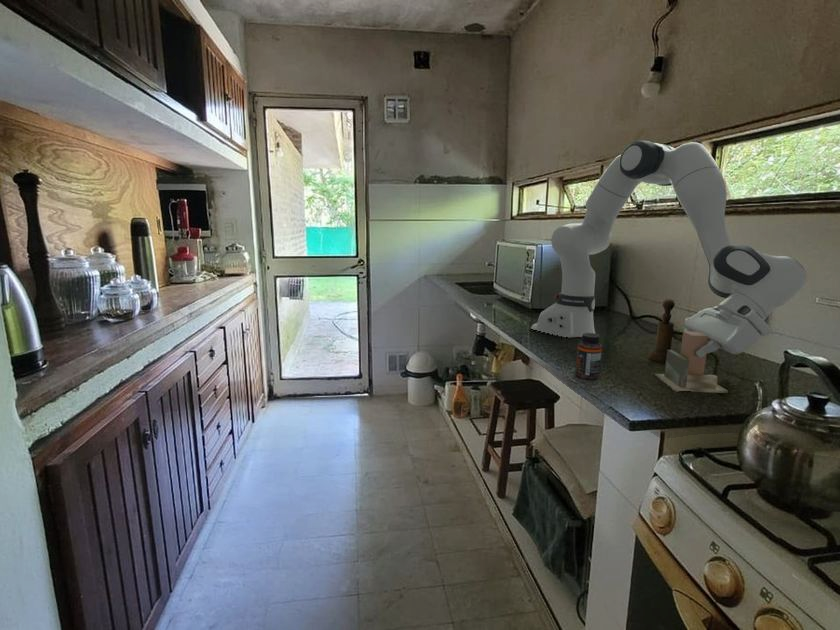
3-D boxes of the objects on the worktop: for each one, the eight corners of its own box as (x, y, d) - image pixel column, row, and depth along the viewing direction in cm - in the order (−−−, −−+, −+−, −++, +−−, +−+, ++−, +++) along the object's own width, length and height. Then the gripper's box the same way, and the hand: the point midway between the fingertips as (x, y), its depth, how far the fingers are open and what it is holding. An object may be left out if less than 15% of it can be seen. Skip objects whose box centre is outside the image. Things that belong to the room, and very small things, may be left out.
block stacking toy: (702, 376, 115) (706, 349, 113) (727, 392, 104) (732, 362, 102) (654, 375, 116) (657, 348, 114) (675, 391, 105) (679, 361, 103)
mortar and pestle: (644, 357, 131) (651, 298, 127) (659, 355, 133) (666, 296, 130) (664, 364, 125) (671, 302, 121) (679, 361, 127) (687, 300, 124)
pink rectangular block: (694, 373, 111) (700, 331, 109) (702, 379, 107) (709, 335, 105) (677, 373, 111) (683, 331, 109) (685, 378, 108) (691, 335, 105)
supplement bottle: (571, 372, 118) (574, 331, 115) (592, 372, 118) (596, 331, 116) (581, 380, 112) (584, 337, 109) (603, 379, 112) (607, 337, 110)
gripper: (706, 297, 115) (663, 332, 118) (758, 313, 95) (705, 355, 98) (721, 313, 116) (678, 348, 119) (776, 333, 96) (723, 374, 99)
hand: (690, 351), depth 108 cm, fingers closed on pink rectangular block, 4 cm apart
